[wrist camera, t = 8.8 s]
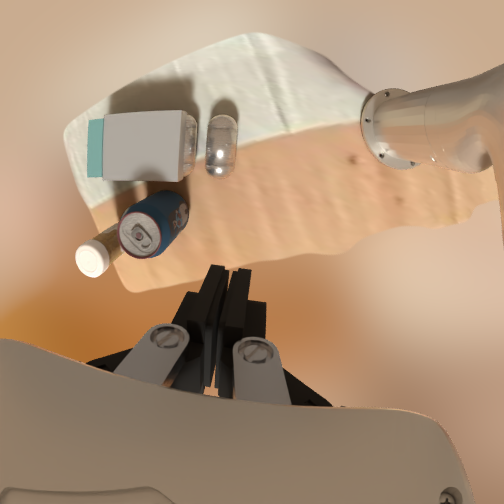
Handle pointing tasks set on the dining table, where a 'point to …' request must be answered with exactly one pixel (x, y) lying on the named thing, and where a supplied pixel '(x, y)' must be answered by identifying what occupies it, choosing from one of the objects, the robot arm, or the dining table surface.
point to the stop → (95, 148)
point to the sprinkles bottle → (99, 252)
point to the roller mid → (190, 145)
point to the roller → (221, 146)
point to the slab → (144, 146)
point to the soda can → (152, 224)
